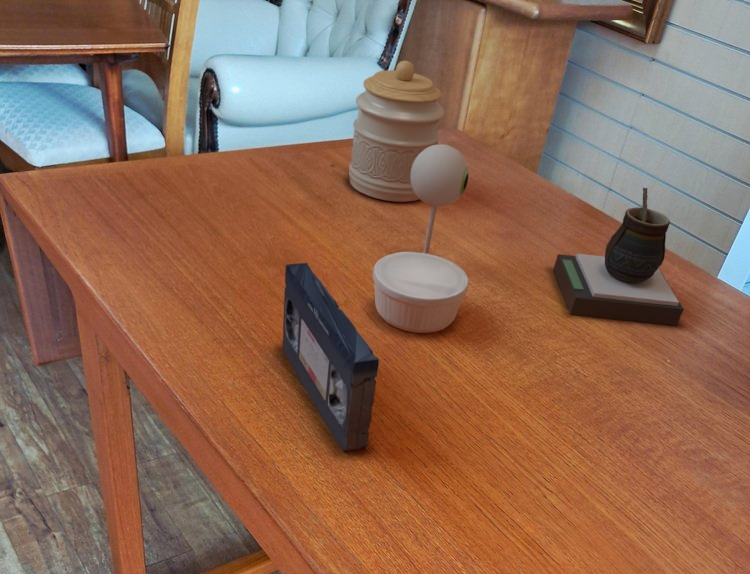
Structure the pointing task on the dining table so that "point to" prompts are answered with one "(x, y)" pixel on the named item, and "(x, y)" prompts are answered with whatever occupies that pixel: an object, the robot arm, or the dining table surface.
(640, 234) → the mate gourd
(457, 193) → the lollipop
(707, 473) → the dining table surface
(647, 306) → the scale
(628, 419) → the dining table surface
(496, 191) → the dining table surface
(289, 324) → the vhs cassette tape
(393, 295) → the ramekin
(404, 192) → the jar
